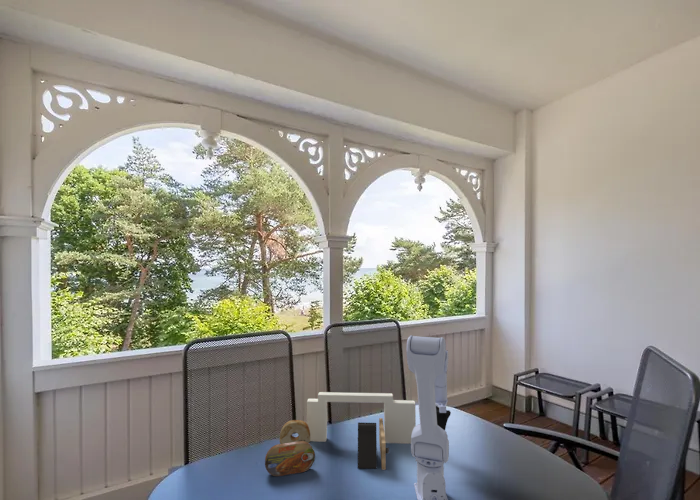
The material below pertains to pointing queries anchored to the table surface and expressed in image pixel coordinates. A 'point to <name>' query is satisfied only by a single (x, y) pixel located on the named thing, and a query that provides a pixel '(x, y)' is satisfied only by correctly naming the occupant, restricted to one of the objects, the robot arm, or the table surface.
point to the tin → (289, 458)
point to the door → (382, 444)
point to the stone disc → (294, 427)
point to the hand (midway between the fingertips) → (438, 427)
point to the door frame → (395, 411)
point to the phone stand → (367, 446)
